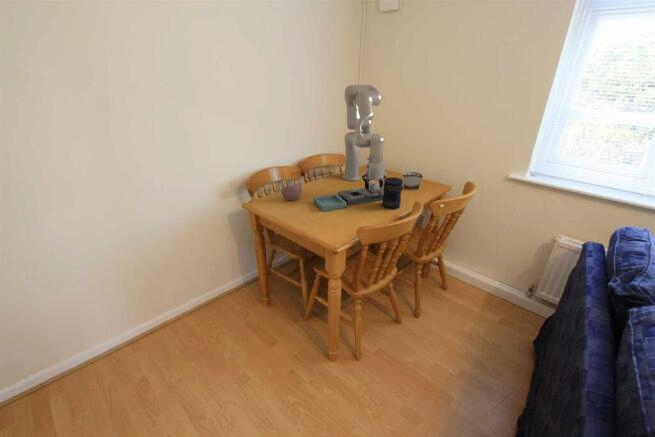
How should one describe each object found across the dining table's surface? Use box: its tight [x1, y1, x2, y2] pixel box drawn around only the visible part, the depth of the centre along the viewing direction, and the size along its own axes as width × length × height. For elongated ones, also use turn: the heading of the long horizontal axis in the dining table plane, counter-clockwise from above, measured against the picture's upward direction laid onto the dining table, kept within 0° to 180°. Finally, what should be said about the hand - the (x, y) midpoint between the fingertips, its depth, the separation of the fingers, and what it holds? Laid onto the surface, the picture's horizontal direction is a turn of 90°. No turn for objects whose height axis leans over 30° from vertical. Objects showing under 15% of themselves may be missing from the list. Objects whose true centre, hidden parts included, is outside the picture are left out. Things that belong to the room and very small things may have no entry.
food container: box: [402, 171, 424, 191], centre depth 193 cm, size 12×6×10 cm, turn 84°
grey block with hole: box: [337, 187, 384, 207], centre depth 178 cm, size 14×28×4 cm, turn 113°
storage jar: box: [381, 177, 404, 210], centre depth 165 cm, size 10×10×15 cm
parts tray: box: [313, 193, 348, 213], centre depth 168 cm, size 14×14×3 cm
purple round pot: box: [280, 179, 303, 201], centre depth 174 cm, size 12×12×12 cm
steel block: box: [368, 180, 379, 193], centre depth 179 cm, size 4×4×9 cm
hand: (373, 187), depth 178 cm, fingers open, 8 cm apart
